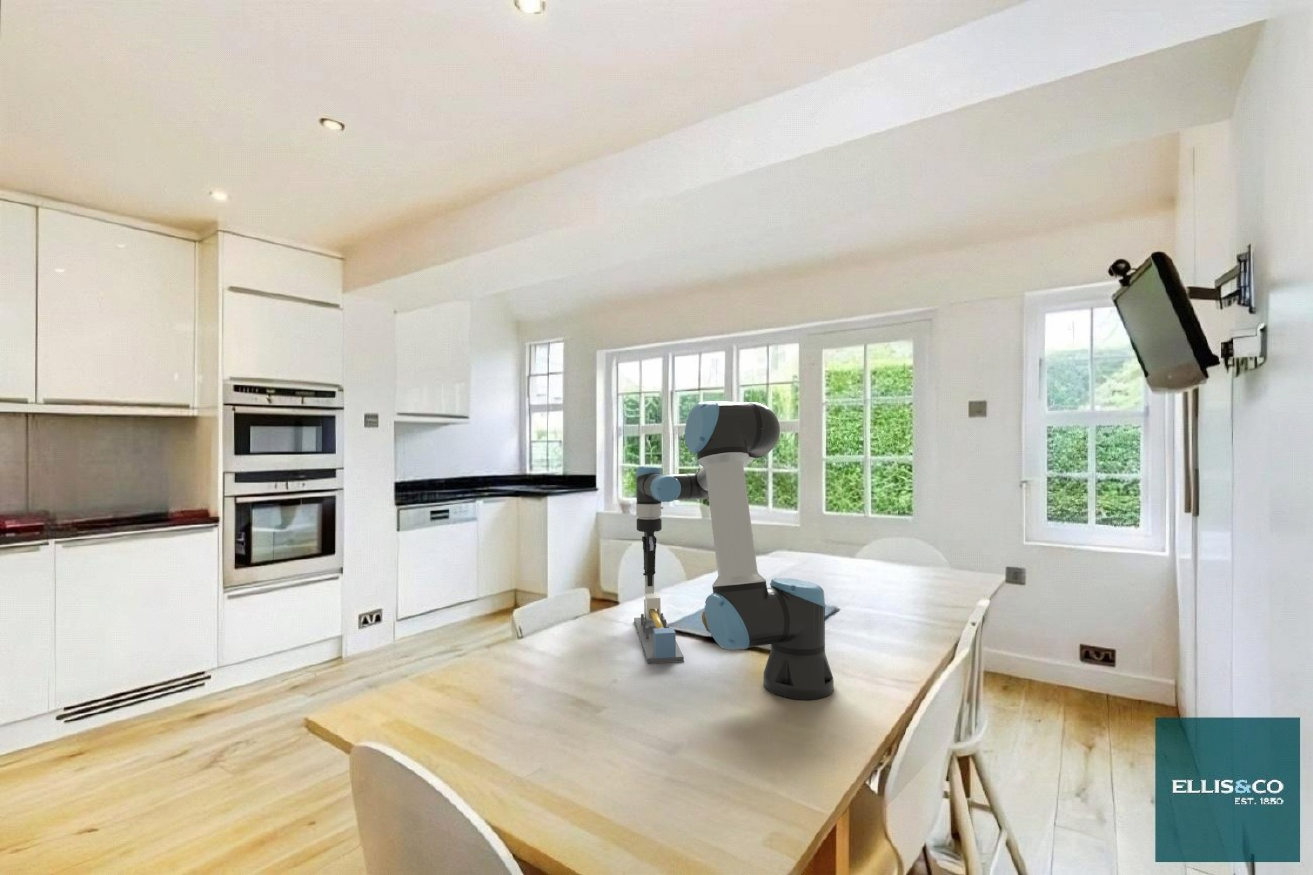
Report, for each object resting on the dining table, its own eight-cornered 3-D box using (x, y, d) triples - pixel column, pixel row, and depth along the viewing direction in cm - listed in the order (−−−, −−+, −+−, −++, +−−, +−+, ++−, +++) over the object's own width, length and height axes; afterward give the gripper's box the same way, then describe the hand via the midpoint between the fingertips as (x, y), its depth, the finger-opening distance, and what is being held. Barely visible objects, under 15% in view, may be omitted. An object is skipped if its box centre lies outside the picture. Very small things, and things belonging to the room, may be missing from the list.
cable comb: (683, 661, 148) (683, 632, 148) (647, 663, 147) (647, 633, 147) (663, 620, 182) (663, 596, 182) (634, 621, 181) (634, 597, 181)
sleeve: (660, 620, 170) (660, 597, 170) (647, 620, 170) (647, 598, 170) (658, 615, 175) (658, 593, 175) (645, 615, 174) (645, 593, 174)
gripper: (664, 520, 174) (665, 601, 174) (658, 514, 187) (658, 590, 187) (638, 520, 173) (639, 602, 173) (634, 515, 186) (634, 591, 186)
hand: (649, 596), depth 180 cm, fingers closed
